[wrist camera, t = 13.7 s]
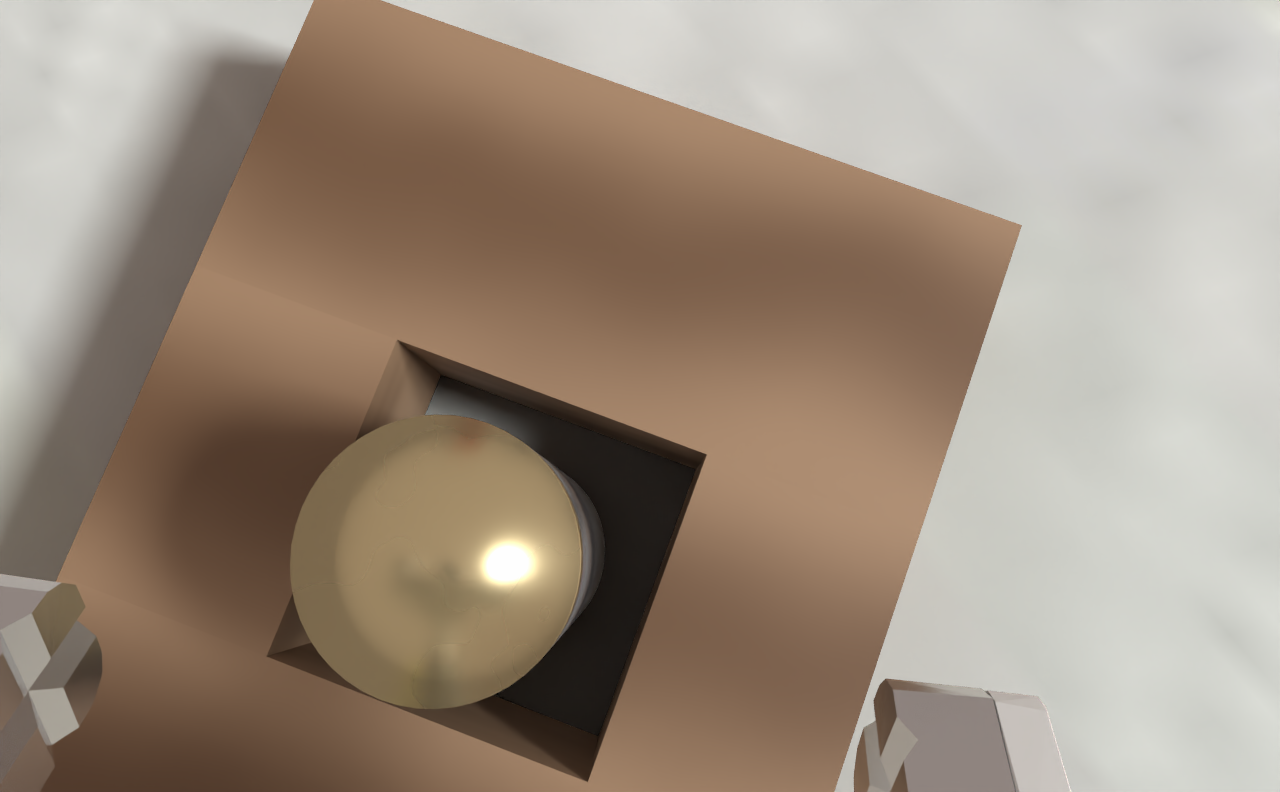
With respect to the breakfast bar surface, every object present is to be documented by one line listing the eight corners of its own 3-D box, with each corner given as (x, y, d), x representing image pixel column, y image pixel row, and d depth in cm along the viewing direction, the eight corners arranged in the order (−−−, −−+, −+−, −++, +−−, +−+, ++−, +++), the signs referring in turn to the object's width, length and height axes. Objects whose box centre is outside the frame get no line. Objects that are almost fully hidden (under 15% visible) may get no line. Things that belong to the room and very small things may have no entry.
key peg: (565, 672, 21) (516, 753, 13) (392, 605, 22) (244, 645, 14) (632, 496, 22) (622, 473, 14) (462, 431, 22) (357, 374, 14)
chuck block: (678, 1098, 20) (687, 1235, 16) (47, 841, 21) (-92, 912, 17) (955, 279, 23) (1021, 225, 19) (377, 74, 23) (323, -21, 19)
